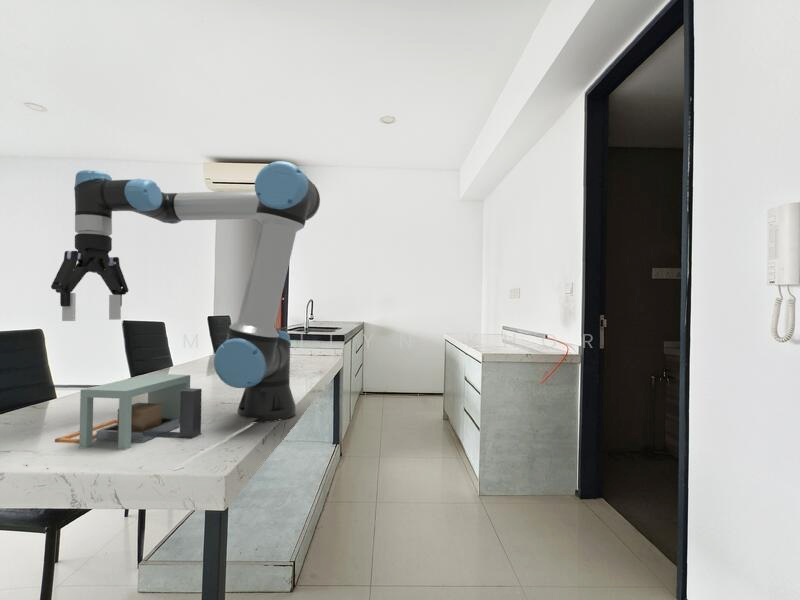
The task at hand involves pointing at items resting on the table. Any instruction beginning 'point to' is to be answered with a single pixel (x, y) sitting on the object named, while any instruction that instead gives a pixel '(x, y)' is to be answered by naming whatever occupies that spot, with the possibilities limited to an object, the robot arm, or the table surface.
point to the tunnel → (159, 392)
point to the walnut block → (145, 416)
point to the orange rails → (69, 437)
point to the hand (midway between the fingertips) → (93, 320)
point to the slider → (166, 422)
